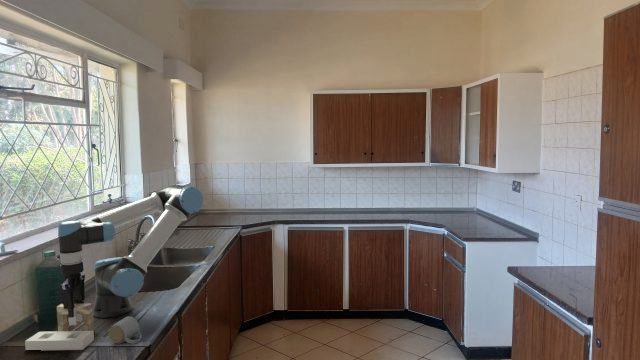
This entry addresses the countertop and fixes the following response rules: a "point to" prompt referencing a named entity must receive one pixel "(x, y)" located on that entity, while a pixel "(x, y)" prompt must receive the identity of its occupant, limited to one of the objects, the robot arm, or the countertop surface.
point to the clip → (80, 309)
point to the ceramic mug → (125, 331)
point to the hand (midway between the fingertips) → (75, 322)
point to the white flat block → (60, 340)
